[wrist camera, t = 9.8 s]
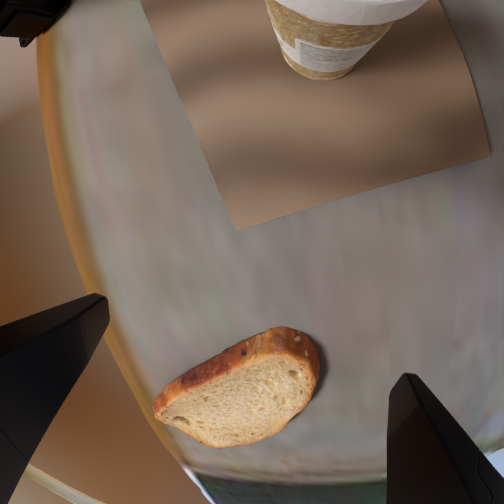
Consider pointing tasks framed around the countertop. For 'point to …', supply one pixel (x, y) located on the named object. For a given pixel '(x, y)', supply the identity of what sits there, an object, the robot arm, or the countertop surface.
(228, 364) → the slice of bread
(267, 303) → the countertop surface
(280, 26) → the sprinkles bottle
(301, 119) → the walnut board
